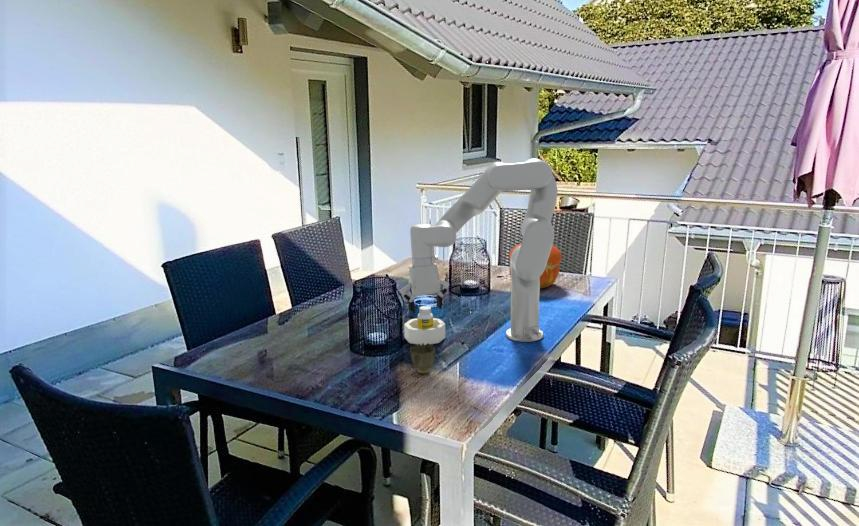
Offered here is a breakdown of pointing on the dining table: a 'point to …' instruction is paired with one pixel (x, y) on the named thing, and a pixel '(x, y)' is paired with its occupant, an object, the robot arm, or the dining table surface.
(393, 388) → the dining table surface
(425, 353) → the cup
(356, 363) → the dining table surface
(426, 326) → the supplement bottle
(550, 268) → the pumpkin
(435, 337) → the white round bowl
